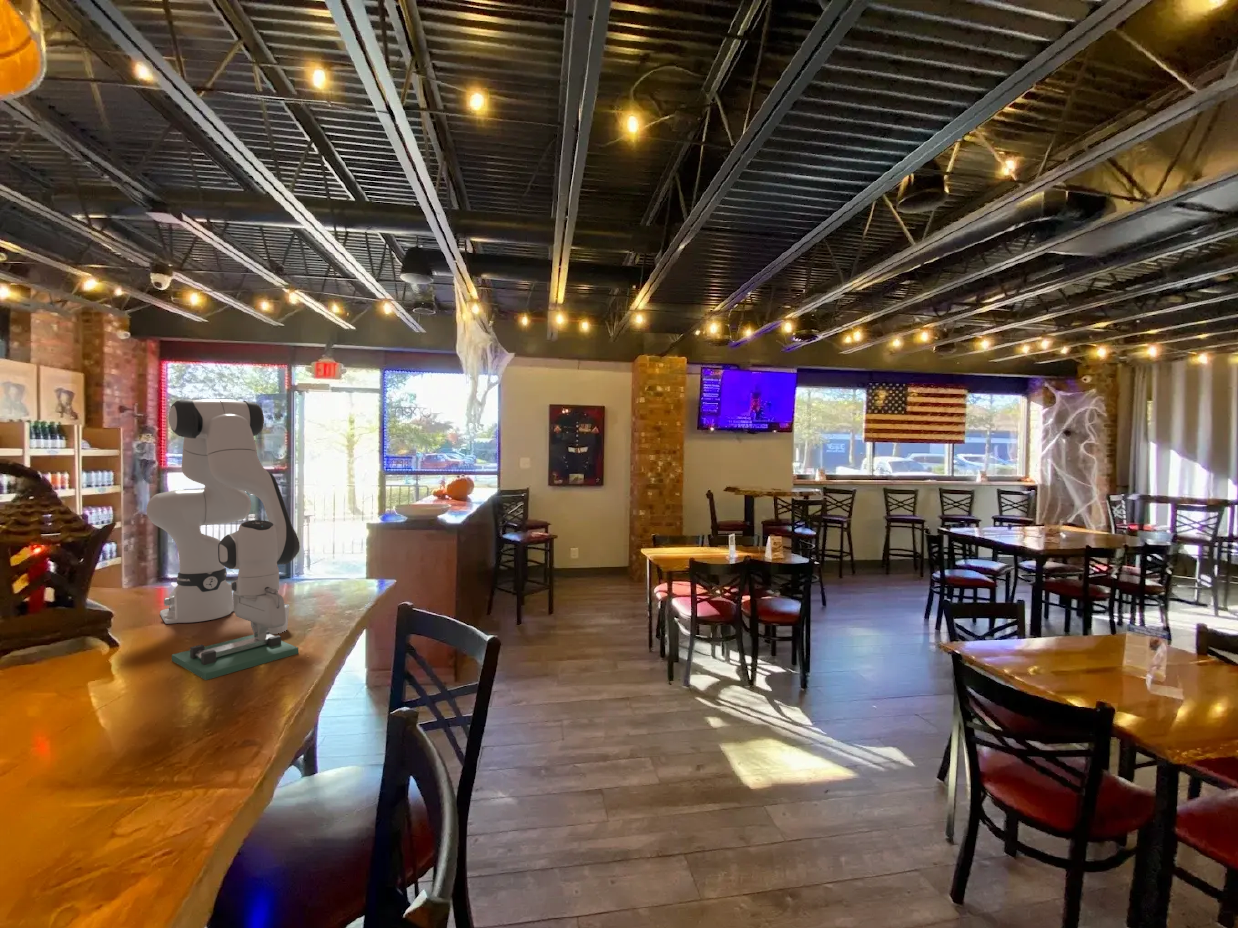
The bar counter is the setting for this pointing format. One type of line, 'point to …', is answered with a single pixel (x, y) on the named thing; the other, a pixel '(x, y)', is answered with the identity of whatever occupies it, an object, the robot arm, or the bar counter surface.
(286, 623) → the white cylinder
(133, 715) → the bar counter surface
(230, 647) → the steel strap
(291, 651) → the board
